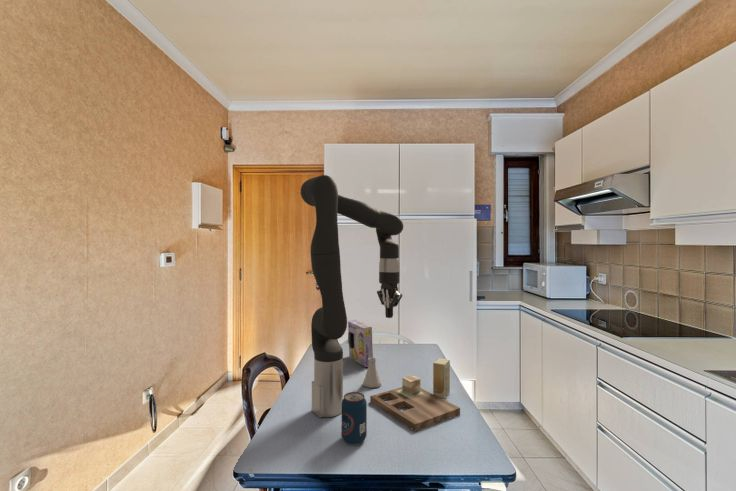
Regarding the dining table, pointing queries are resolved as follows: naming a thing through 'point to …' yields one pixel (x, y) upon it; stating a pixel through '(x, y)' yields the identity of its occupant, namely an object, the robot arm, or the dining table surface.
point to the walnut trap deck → (415, 407)
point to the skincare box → (441, 378)
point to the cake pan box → (360, 342)
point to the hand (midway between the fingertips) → (389, 317)
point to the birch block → (411, 384)
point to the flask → (372, 375)
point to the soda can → (354, 418)
